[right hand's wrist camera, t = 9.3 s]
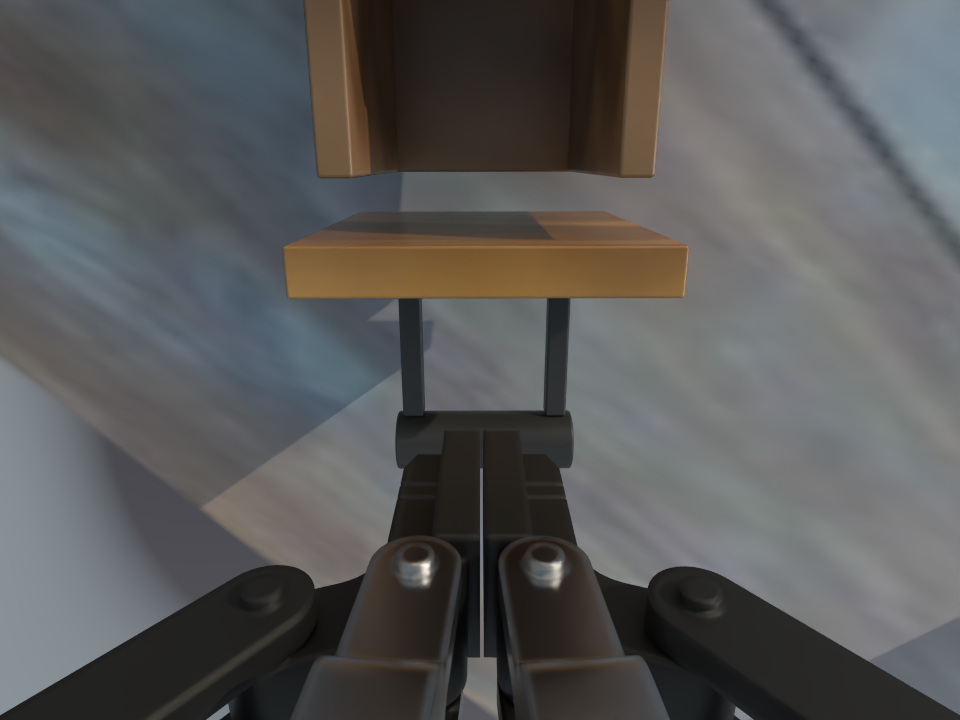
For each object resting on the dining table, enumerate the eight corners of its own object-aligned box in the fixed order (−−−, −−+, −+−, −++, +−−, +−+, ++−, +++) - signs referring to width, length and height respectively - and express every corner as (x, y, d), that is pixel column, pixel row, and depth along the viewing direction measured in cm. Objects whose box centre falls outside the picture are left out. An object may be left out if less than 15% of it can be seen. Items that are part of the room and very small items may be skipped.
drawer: (594, 393, 25) (661, 527, 16) (370, 393, 25) (308, 528, 16) (646, -483, 17) (840, -1222, 8) (318, -484, 17) (134, -1227, 8)
